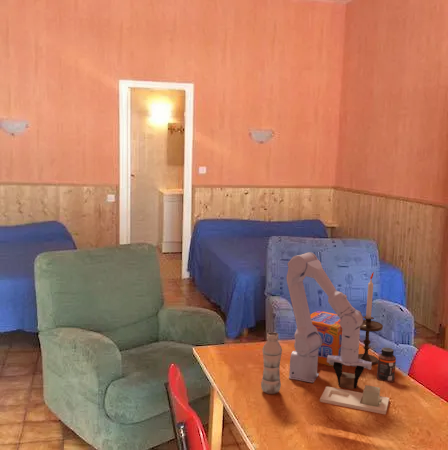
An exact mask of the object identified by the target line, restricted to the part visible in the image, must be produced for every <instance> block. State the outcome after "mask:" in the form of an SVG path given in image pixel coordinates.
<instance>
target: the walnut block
mask: <svg viewBox="0 0 448 450" xmlns="http://www.w3.org/2000/svg"><path fill="white" fill-rule="evenodd" d="M354 382H355V373H351V372H345V371H342V375H341V377H340V385H339V387H340V388H341V389H342V388H344V389H347V390H354V389H355V388H354Z"/></svg>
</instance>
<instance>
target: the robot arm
mask: <svg viewBox="0 0 448 450" xmlns="http://www.w3.org/2000/svg"><path fill="white" fill-rule="evenodd" d="M287 266H288V269H287V272H286V284H287V289H288V292H289V296H290V301H291V305H292V311H293V315H294V320H295V324H296V330H295V332H294V343H293V344H294V350H292V352H291V354H290V359H289V374H288V379H291V380H296V381H301V382H305V383H312V384H314V383H315V381H316V380H317V378H318V376H319V373H318V365H319V363H318V348H320V347H321V345H322V339H321V336H320V335H319V334H318V331H317V328H316V327H315V326H314V325H313V324H312V320H311V316H310V314H311V312H310V307H309V304H308V299H307V294H306V290H305V285H304V280H305V278H306V277H307V278H311V279H314V281H316V283H317V284H318V286H319V287H320V288H321V289H322V290H323V292H324V293H325V294H326V296H327V297H328V298H327V299H328V300H327V303H328V304H329V306H330V307H331V308H332V310H333V311H334V314H337V315H338V317H339V318H340V319H341V320H340V326H341V327H342V343H341V356H331V355H328V356H327V362H328V363H330V362H332V363H334V365H333V367H332V368H333V370H334V372H335V375H336V378H337V383H338V386H340V377H341V375H342V372H343V366H348V367H350V366H351V367H355V369H354V374H355V382H354V389H357V387H358V383H359V379H360V377H361V375H362V373H363V371H364V369H367V370H369V371H370V370H372V366H373V365H372V362H368V361H364V360H361V359H358V354H360V353H359V350H360V349H359V348H360V338H361V337H360V336H361V335H360V334H361V330H360V327H359V326H361V325H362V323H363V320H364V318H363V317H364V316H363V314H362V313H361V311H360V310H358V309H356V308H355V307H353V306H352V303H350V301H349V300H348V299H347V298H348V296H347V294H344V293H343V292H342V291H338V290H337V289H336V287H335V286H334V284H333V282H332V281H331V279H330V277H328V275H327V273H326V271H325V270H324V269H323V267H322V266H323V265H322V263H321V261H320V260H319V259H318V257H317V256H316V254H314V253H313V252H311V251H310V252H309V251H308V252H305V253H303V254H298V255H293V256H292V257H291V259H289V260H288V262H287Z"/></svg>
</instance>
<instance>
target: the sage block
mask: <svg viewBox="0 0 448 450" xmlns="http://www.w3.org/2000/svg"><path fill="white" fill-rule="evenodd" d="M362 393H363V404H366V405H371V406H376V407H378V405H379V397H380V396H381V395H380V394H381V387H377V386H373V385H367V384H366V385H364V389H363V391H362Z"/></svg>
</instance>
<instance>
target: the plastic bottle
mask: <svg viewBox="0 0 448 450" xmlns="http://www.w3.org/2000/svg"><path fill="white" fill-rule="evenodd" d="M282 354H283V349H282V346H281V344H280V342H279V333H278V332H275V331H270V332H267V334H266V342H265V343H264V345H263V347H262V359H263V360H262V361H263V372H262V379H261V382H260V387H261V390H262V392H263V393H265V394H269V395H275V394H278V393H279V391H280V390H281V385H282V383H281V375H280V371H281V370H280V367H281V366H280V365H281V357H282Z"/></svg>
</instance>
